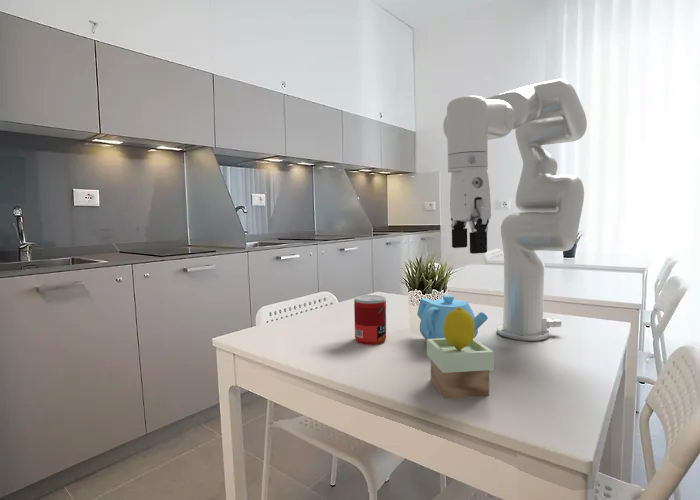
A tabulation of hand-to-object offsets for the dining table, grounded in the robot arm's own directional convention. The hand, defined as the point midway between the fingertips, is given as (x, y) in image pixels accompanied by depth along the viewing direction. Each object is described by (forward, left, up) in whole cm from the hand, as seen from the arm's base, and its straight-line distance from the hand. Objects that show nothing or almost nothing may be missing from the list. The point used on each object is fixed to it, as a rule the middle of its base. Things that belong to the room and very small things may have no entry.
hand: (468, 250), depth 83 cm
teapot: (-2, -16, -25) cm, 29 cm away
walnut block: (+5, +9, -25) cm, 27 cm away
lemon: (+5, +9, -18) cm, 20 cm away
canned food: (+17, -21, -25) cm, 37 cm away
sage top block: (+5, +9, -20) cm, 22 cm away
